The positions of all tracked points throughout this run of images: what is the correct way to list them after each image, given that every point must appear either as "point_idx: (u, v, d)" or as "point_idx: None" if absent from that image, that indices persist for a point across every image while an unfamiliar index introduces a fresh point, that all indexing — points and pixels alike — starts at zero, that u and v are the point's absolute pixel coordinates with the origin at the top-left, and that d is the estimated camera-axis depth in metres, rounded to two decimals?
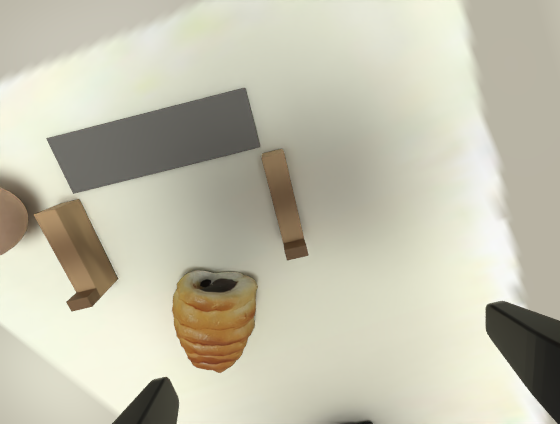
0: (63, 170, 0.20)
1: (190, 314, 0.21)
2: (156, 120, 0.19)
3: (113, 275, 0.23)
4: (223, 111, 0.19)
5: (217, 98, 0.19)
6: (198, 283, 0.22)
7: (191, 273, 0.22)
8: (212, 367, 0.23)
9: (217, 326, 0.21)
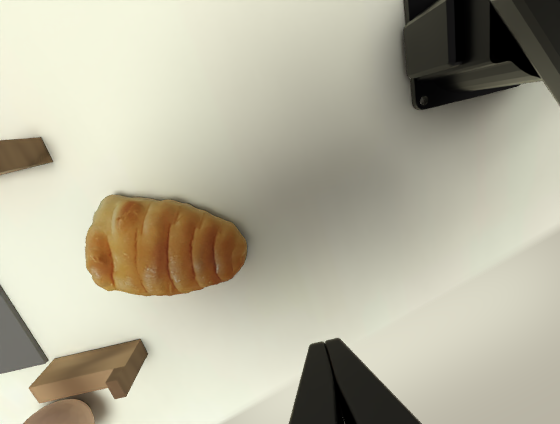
0: (23, 367, 0.22)
1: (124, 283, 0.17)
2: None
3: (132, 343, 0.21)
4: None
5: None
6: None
7: None
8: (222, 259, 0.17)
9: (129, 255, 0.16)
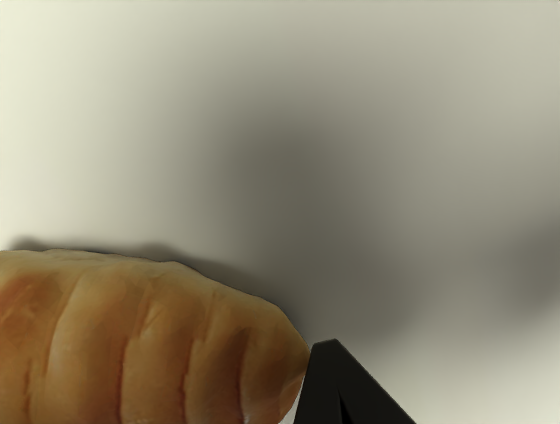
0: None
1: None
2: None
3: None
4: None
5: None
6: None
7: None
8: (260, 403, 0.07)
9: None
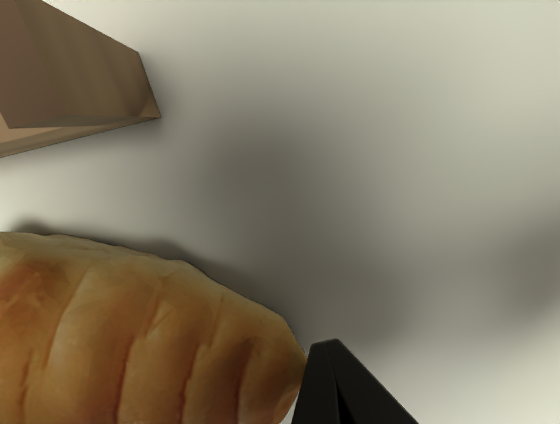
0: None
1: None
2: None
3: None
4: None
5: None
6: None
7: None
8: (256, 414, 0.07)
9: None
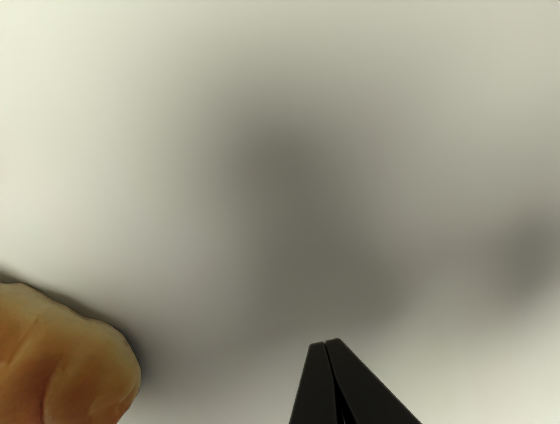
0: None
1: None
2: None
3: None
4: None
5: None
6: None
7: None
8: (65, 422, 0.08)
9: None
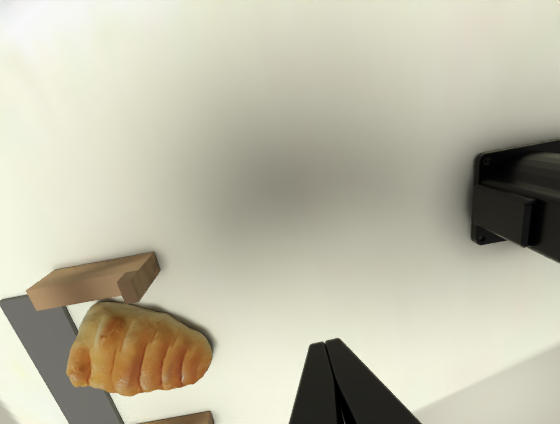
0: None
1: (98, 385, 0.19)
2: (46, 369, 0.22)
3: (203, 415, 0.24)
4: (25, 320, 0.20)
5: (14, 324, 0.20)
6: None
7: None
8: (188, 372, 0.20)
9: (107, 368, 0.18)
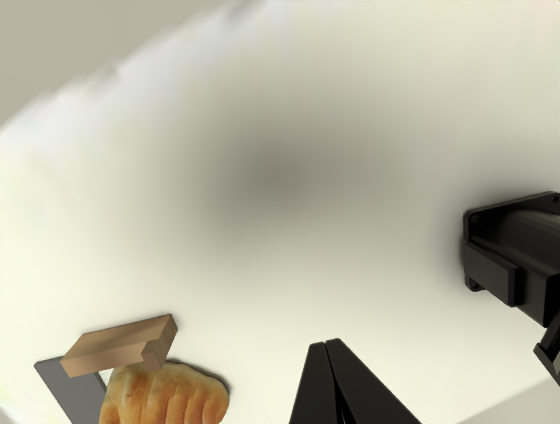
0: None
1: None
2: (78, 421, 0.24)
3: None
4: (58, 380, 0.22)
5: (48, 384, 0.22)
6: None
7: None
8: (208, 419, 0.22)
9: None
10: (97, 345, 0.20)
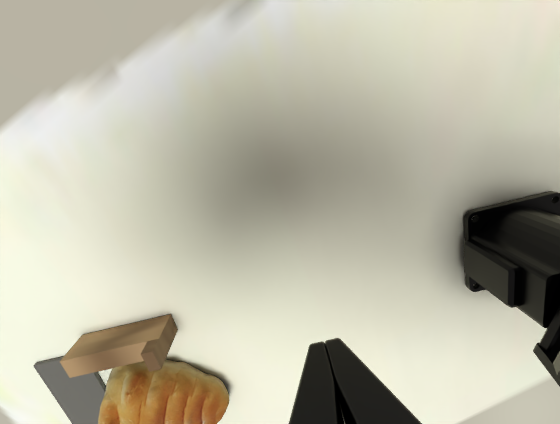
0: None
1: None
2: (78, 421, 0.24)
3: None
4: (58, 380, 0.22)
5: (48, 384, 0.22)
6: None
7: None
8: (208, 417, 0.22)
9: (133, 422, 0.20)
10: (97, 345, 0.20)
